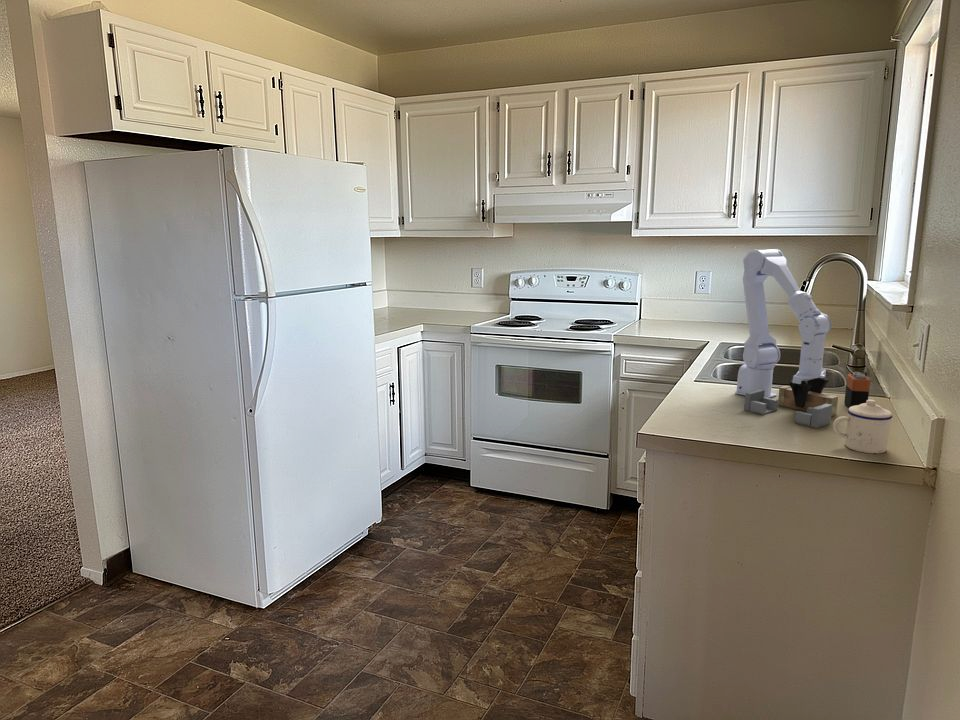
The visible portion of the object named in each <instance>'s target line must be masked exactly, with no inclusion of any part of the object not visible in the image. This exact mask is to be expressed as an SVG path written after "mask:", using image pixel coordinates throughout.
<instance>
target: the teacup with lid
mask: <svg viewBox="0 0 960 720" xmlns="http://www.w3.org/2000/svg"><path fill="white" fill-rule="evenodd" d="M847 414H848V415H847V416H844V415H843V416H838V417H837V418H835V419H834V421H833V424H832V427H833V430H834V432H835V433H836V434H837V435H838V436H839V437H841V438H845V440H844V446H846V447H847V448H849V449H851V450H853V451H856V452H860V453H865V454H874V453H876V454H883V453H885V452H886V451H887V450H888V442H889V435H890V428H891V421H892V418H893V413H892V412H891V411H890V410H888V409H886V408H883V407H882V406H880V405H879V404H877V401H876V400H874V399H869V398H868V400H867V401H866V403H863V404H860V405H856V406H851V407H850V408H849V407H848V409H847ZM841 421H847V423H846V430H845V433H842V432H839V429H838V424H839V423H840V422H841Z"/></svg>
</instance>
